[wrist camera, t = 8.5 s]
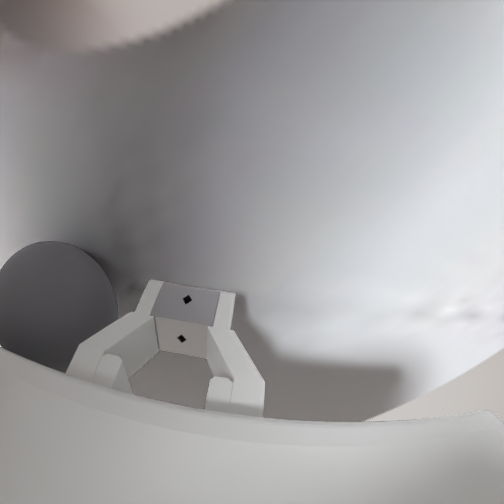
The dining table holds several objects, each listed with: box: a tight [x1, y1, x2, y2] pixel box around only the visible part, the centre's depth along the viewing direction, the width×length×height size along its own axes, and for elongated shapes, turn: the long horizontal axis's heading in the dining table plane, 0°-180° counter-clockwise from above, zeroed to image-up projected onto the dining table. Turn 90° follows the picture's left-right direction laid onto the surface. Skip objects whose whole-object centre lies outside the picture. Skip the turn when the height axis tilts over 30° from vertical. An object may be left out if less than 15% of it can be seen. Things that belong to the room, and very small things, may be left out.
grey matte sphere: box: [0, 241, 118, 373], centre depth 11 cm, size 6×6×6 cm
